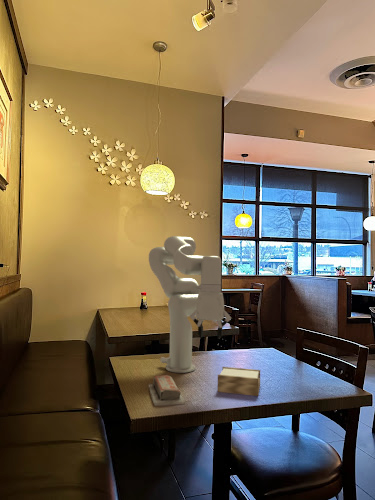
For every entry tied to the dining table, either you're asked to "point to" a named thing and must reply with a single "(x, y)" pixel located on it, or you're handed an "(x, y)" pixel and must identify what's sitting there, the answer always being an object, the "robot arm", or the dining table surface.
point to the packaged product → (165, 391)
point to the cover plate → (240, 373)
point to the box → (239, 383)
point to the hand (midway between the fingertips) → (210, 337)
